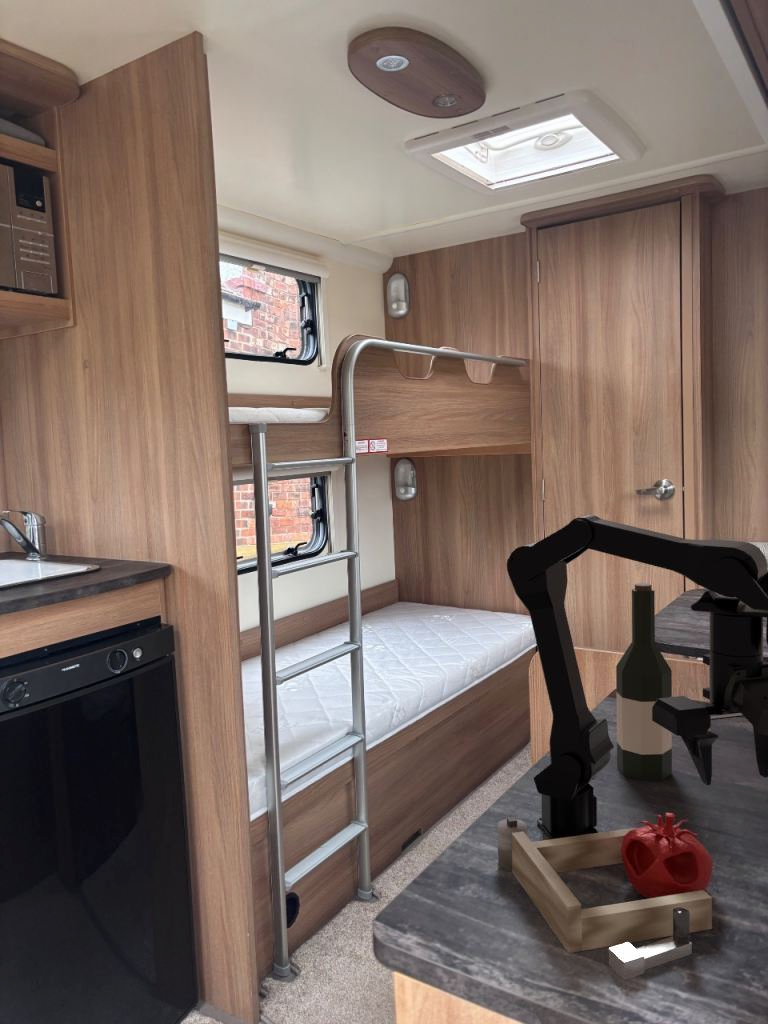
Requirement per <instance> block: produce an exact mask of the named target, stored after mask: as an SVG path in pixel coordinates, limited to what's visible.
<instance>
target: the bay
mask: <svg viewBox="0 0 768 1024" xmlns="http://www.w3.org/2000/svg"><path fill="white" fill-rule="evenodd" d="M633 829H637V828H636V827H631V828H624V829H617V830H609V831H602V832H599V833H593V834H586V835H579V836H572V837H564V838H557V839H551V838H550V839H545V840H538V841H537V840H536V841H531V840H530V838H529V837H528V831H527V830H528V827H527V824H526V822H525V821H523V820H521V819H517V818H516V817H515V816H511V817H506V818H504V819H502V820H500V821H498V822H497V853H498V854H497V856H498V860H497V861H498V862H497V863H498V867H500V868H501V869H503V870H505V871H508V872H512V873H513V875H514V876H515V878H516V880H517V881H518V882H519V884H520V885H521V887H522V888H523V890H524V891H525V893H526V894H527V896H528V897H529V898H530V900H531V901H532V903H533V904H534V905H535V907H536V909H537V910H538V911H539V913H540V914H541V916H542V917H543V918H544V920H545V922H546V923H547V924H548V926H549V927H550V929H551V931H552V932H553V933H554V935H555V936H556V937H557V939H558V940H559V942H560V943H561V945H562V946H563V947H564V949H565V951H566V952H567V954H572V953H579V952H584V951H589V950H596V949H601V948H608V947H614V946H617V945H620V944H624V943H627V942H629V943H630V944H632V943H636V942H644V941H649V940H654V939H661V938H666V937H667V938H668V937H673V909H674V908H677V907H680V908H684V909H686V910H688V911H689V913H690V934H691V933H697V932H701V931H707V930H712V929H713V909H712V908H713V898H712V896H711V895H709V893H708V892H706V891H704V890H700V891H694V892H688V893H681V894H675V895H669V896H663V897H656V898H650V899H648V898H645V899H639V900H632V901H627V902H619V903H613V904H607V905H599V906H594V907H588V908H583V909H582V904H581V902H580V900H578V899H577V897H576V896H575V895H574V893H573V892H572V891H571V889H569V887H568V886H567V885H566V884H565V882H564V881H563V880H562V878H561V877H560V876H559V875H558V873H564V872H571V871H577V870H578V871H579V870H585V869H590V868H591V869H592V868H599V867H604V866H611V865H618V864H623V862H622V853H621V847H622V841H623V837H624V836H625V835H626V834H627V833H628V832H629V831H631V830H633Z"/></svg>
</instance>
